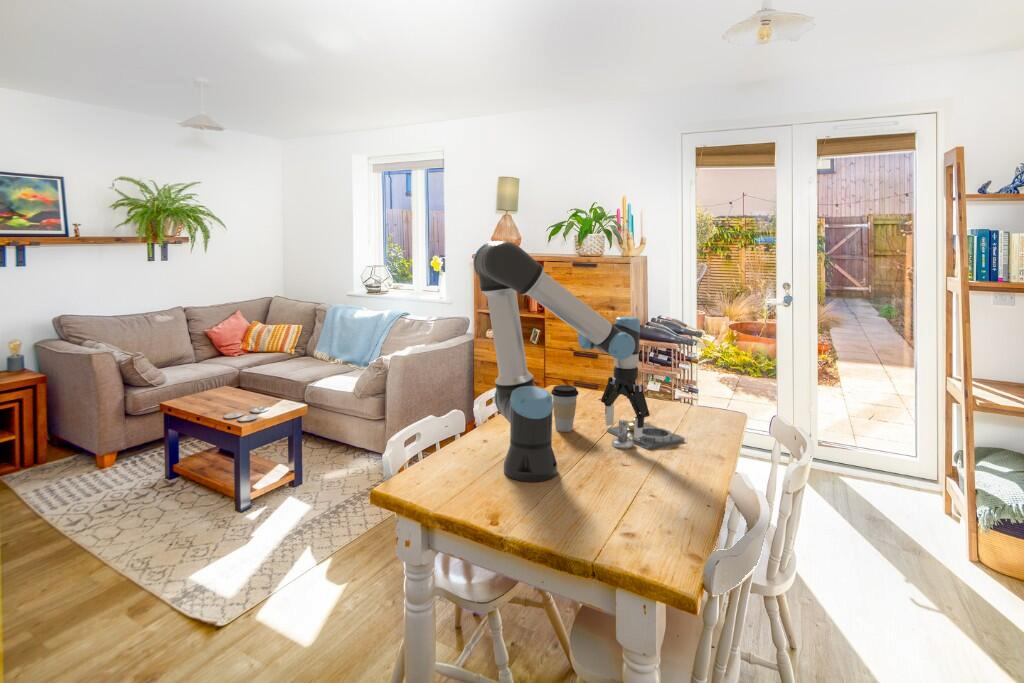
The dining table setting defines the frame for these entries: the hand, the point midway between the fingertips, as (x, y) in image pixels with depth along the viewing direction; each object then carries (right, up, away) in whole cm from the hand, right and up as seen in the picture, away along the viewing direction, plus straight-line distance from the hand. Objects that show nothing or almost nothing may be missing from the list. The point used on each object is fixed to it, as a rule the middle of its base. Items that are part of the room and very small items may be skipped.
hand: (623, 430), depth 182 cm
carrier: (+9, -3, +10) cm, 14 cm away
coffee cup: (-18, -2, +16) cm, 24 cm away
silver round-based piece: (0, -5, +1) cm, 5 cm away
